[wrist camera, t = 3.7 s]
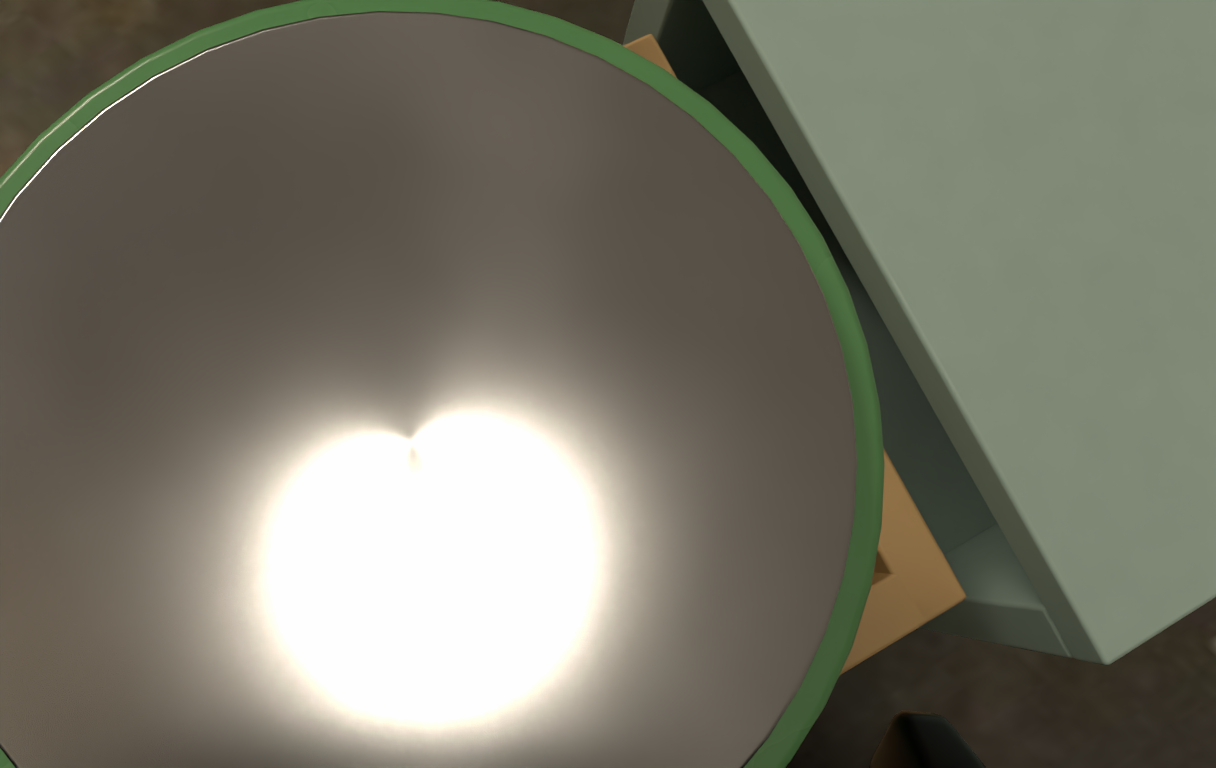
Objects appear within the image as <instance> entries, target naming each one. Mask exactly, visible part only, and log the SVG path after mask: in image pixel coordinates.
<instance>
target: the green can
mask: <svg viewBox="0 0 1216 768" xmlns="http://www.w3.org/2000/svg"><path fill="white" fill-rule="evenodd" d="M884 470H885V464H884V451H883V437H882V424H881V411H880V403H879V398H878V393H877V388H876V383H875V379H874V374H873V369H872V364H871V359H870V354H869V349H868V345H867V342H866V339H865V336H864V333H863V330H862V327H861V325H860V322H859V319H858V316H857V313H856V310H855V307H854V304H853V301H852V298H851V295H850V292H849V289H848V287H847V285H846V283H845V281H844V279H843V277H842V275H841V273H840V271H839V269H838V267H837V265H836V263H835V261H834V258H833V256H832V254H831V252H830V250H829V248H828V246H827V244H826V242H825V240H824V238H823V236H822V235H821V233H820V231H819V230H818V228H817V227H816V225H815V224H814V222H813V221H812V219H811V218H810V216H809V215H808V213H807V211H806V210H805V208H804V207H803V205H802V204H801V202H800V201H799V199H798V198H797V196H796V194H795V193H794V191H793V190H792V188H791V187H790V186H789V185H788V183H787V182H786V181H785V180H784V179H783V177H782V176H781V175H780V174H779V173H778V171H777V170H776V169H775V168H774V167H773V166H772V164H771V163H770V162H769V161H768V160H767V158H766V157H765V156H764V155H763V154H762V152H761V151H760V150H759V149H758V148H757V146H756V145H755V144H754V143H753V142H752V141H751V140H750V139H749V138H748V137H747V136H746V135H745V134H743V133H742V132H741V131H740V130H739V129H738V128H737V127H736V126H735V125H734V124H733V123H732V122H731V121H730V120H728V119H727V118H726V117H725V116H724V115H723V114H722V113H721V112H720V111H719V110H718V109H717V108H716V107H714V106H713V105H712V104H711V103H710V102H709V101H707V100H706V99H705V98H703V97H702V96H700V95H699V94H698V93H696V92H695V91H694V90H692V89H691V88H689V87H688V86H687V85H685V84H684V83H683V82H681V81H680V80H678V79H677V78H676V77H674V76H673V75H672V74H670V73H669V72H667V71H666V70H665V69H663V68H662V67H660V66H658V65H656V64H654V63H653V62H651V61H649V60H647V59H645V58H644V57H642V56H640V55H638V54H636V53H635V52H633V51H631V50H629V49H627V48H626V47H624V46H622V45H620V44H618V43H617V42H615V41H613V40H611V39H609V38H606V37H604V36H601V35H599V34H596V33H594V32H591V31H589V30H586V29H584V28H582V27H579V26H577V25H574V24H572V23H569V22H567V21H564V20H562V19H559V18H557V17H553V16H550V15H546V14H542V13H539V12H535V11H532V10H528V9H524V8H521V7H517V6H513V5H510V4H506V3H502V2H498V1H491V0H302V1H297V2H292V3H288V4H283V5H279V6H274V7H270V8H265V9H260V10H256V11H253V12H250V13H248V14H245V15H242V16H239V17H236V18H233V19H230V20H228V21H225V22H222V23H219V24H216V25H213V26H210V27H208V28H205V29H202V30H199V31H197V32H195V33H193V34H191V35H188V36H186V37H184V38H182V39H180V40H178V41H176V42H174V43H172V44H170V45H168V46H166V47H164V48H162V49H160V50H158V51H156V52H154V53H152V54H150V55H148V56H146V57H144V58H142V59H140V60H139V61H137V62H136V63H134V64H133V65H131V66H129V67H128V68H126V69H125V70H123V71H122V72H120V73H119V74H117V75H116V76H114V77H113V78H111V79H110V80H108V81H107V82H105V83H104V84H102V85H101V86H99V87H98V88H96V89H95V90H93V91H92V92H90V93H89V94H87V95H86V96H85V97H84V98H82V99H81V100H80V101H79V102H78V103H77V104H75V105H74V106H73V107H72V108H71V109H70V110H68V111H67V112H66V113H65V114H64V115H63V116H61V117H60V118H59V119H58V120H57V121H56V122H54V123H53V124H52V125H51V126H50V127H49V128H47V129H46V130H45V131H44V132H43V133H42V134H40V135H39V136H38V137H37V138H36V139H35V140H34V142H33V143H32V144H31V145H30V146H29V147H28V148H27V149H26V150H25V151H24V153H23V154H22V155H21V156H20V157H19V158H18V159H17V160H16V161H15V163H14V164H13V165H12V166H11V167H10V168H9V169H8V170H7V171H6V172H5V174H4V175H3V176H2V177H1V178H0V768H785V767H786V766H787V765H788V764H789V763H790V761H791V760H792V758H793V757H794V755H795V754H796V752H797V750H798V749H799V747H800V746H801V744H802V742H803V741H804V739H805V738H806V736H807V734H808V733H809V731H810V730H811V728H812V726H813V725H814V723H815V722H816V720H817V718H818V717H819V715H820V714H821V712H822V710H823V709H824V707H825V706H826V704H827V701H828V699H829V697H830V695H831V693H832V690H833V688H834V686H835V684H836V682H837V680H838V677H839V675H840V673H841V671H842V669H843V666H844V664H845V662H846V660H847V658H848V656H849V653H850V651H851V649H852V647H853V643H854V640H855V637H856V634H857V631H858V627H859V624H860V621H861V618H862V615H863V611H864V608H865V605H866V602H867V599H868V595H869V592H870V589H871V584H872V578H873V573H874V567H875V562H876V556H877V550H878V545H879V539H880V533H881V528H882V510H883V490H884Z"/></svg>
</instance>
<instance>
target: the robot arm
mask: <svg viewBox="0 0 1216 768" xmlns="http://www.w3.org/2000/svg"><path fill="white" fill-rule="evenodd" d="M869 768H986V767H985V766H984V764H983V763H982V762H981V761H980V759H979V758H978V757H977V756H976V754H975V753H974V752H973V751H972V749H971V748H970V747H969V746H968V744H967V743H966V742H965V741H964V740H963V738H962V737H961V736H960V735H959V733H958V732H957V731H956V730H955V728H954V727H953V726H952V725H951V724H950V722H949V721H948V720H946V719H945V718H944V717H942V716H941V715H938V714H935V713H926V712H915V711H901V712H899V713H898V714H896V715H895V716H894V717H893V719H892V721H891V723H890V724H889V726H888V728H887V730H886V732H885V734H884V736H883V738H882V740H881V742H880V744H879V745H878V747H877V749H876V751H875V753H874V755H873V757H872V759H871V762H870V765H869Z"/></svg>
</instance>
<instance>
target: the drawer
mask: <svg viewBox="0 0 1216 768" xmlns="http://www.w3.org/2000/svg"><path fill="white" fill-rule="evenodd" d="M624 47H626V48H627V49H629V50H631V51H633V52H635V53H636V54H638V55H640V56H642V57H644V58H645V59H647V60H649V61H651V62H653V63H654V64H656V65H658V66H660V67H662V68H663V69H665V70H666V71H667V72H669V73H670V74H672V75H673V76H674V77H676V75H675V73H674V71H673V70H672V68H671V66H670V64H669V63H668V61H667V59H666V57H665V55H664V54H663V52H662V50H661V48H660V46H659V45H658V43H657V41H656V39H655V37H654V36H653V35H652V34H648V35H645V36H643V37H641V38H639V39H637V40H635V41H632V42H630V43H628V44H626V45H624ZM676 78H677V77H676ZM883 451H884V464H885V470H884V490H883V510H882V528H881V533H880V539H879V545H878V550H877V556H876V562H875V567H874V573H873V578H872V584H871V589H870V592H869V595H868V599H867V602H866V605H865V608H864V611H863V615H862V618H861V621H860V624H859V627H858V631H857V634H856V637H855V640H854V643H853V647H852V649H851V651H850V653H849V656H848V658H847V660H846V662H845V664H844V666H843V669H842V671H841V673H840V675H841V674H843V673H844V672H846V671H848V670H849V669H851V668H853V667H854V666H856V665H858V664H859V663H861V662H863V661H864V660H866V659H867V658H869V657H871V656H872V655H874V654H876V653H877V652H879V651H881V650H882V649H884V648H886V647H887V646H889V645H891V644H892V643H894V642H896V641H897V640H899V639H901V638H902V637H904V636H906V635H907V634H909V633H911V632H912V631H914V630H915V629H917V628H919V627H920V626H922V625H924V624H925V623H927V622H929V621H930V620H932V619H934V618H935V617H937V616H939V615H940V614H942V613H944V612H945V611H947V610H949V609H950V608H952V607H954V606H955V605H957V604H959V603H960V602H962V601H963V600H965V598H966V594H965V592H964V590H963V588H962V587H961V585H960V583H959V581H958V579H957V578H956V576H955V574H954V572H953V570H952V569H951V567H950V565H949V563H948V561H947V560H946V558H945V556H944V554H943V553H942V551H941V549H940V548H939V546H938V544H937V543H936V541H935V539H934V537H933V535H932V534H931V532H930V530H929V528H928V526H927V525H926V523H925V521H924V519H923V517H922V516H921V514H920V512H919V510H918V509H917V507H916V505H915V503H914V501H913V500H912V498H911V496H910V494H909V492H908V491H907V489H906V487H905V485H904V483H903V482H902V480H901V478H900V476H899V474H898V473H897V471H896V469H895V467H894V466H893V464H892V462H891V460H890V458H889V457H888V455H887V453H886V451H885V449H884V448H883Z"/></svg>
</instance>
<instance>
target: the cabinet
mask: <svg viewBox="0 0 1216 768" xmlns="http://www.w3.org/2000/svg"><path fill="white" fill-rule="evenodd" d="M648 34H652V35H653V36H654V37H655V39H656V41H657V43H658V45H659V46H660V48H661V50H662V52H663V54H664V55H665V57H666V59H667V61H668V63H669V64H670V66H671V68H672V70H673V71H674V73H675V75H676V77H677V79H678V80H680V81H681V82H683V83H684V84H685V85H687V86H688V87H689V88H691V89H692V90H694V91H695V92H696V93H698V94H699V95H700V96H702V97H703V98H705V99H706V100H707V101H709V102H710V103H711V104H712V105H713V106H714V107H716V108H717V109H718V110H719V111H720V112H721V113H722V114H723V115H724V116H725V117H726V118H727V119H728V120H730V121H731V122H732V123H733V124H734V125H735V126H736V127H737V128H738V129H739V130H740V131H741V132H742V133H743V134H745V135H746V136H747V137H748V138H749V139H750V140H751V141H752V142H753V143H754V144H755V145H756V146H757V148H758V149H759V150H760V151H761V152H762V154H763V155H764V156H765V157H766V158H767V160H768V161H769V162H770V163H771V164H772V166H773V167H774V168H775V169H776V170H777V171H778V173H779V174H780V175H781V176H782V177H783V179H784V180H785V181H786V182H787V183H788V185H789V186H790V187H791V188H792V190H793V191H794V193H795V194H796V196H797V198H798V199H799V201H800V202H801V204H802V205H803V207H804V208H805V210H806V211H807V213H808V215H809V216H810V218H811V219H812V221H813V222H814V224H815V225H816V227H817V228H818V230H819V231H820V233H821V235H822V236H823V238H824V240H825V242H826V244H827V246H828V248H829V250H830V252H831V254H832V256H833V258H834V261H835V263H836V265H837V267H838V269H839V271H840V273H841V275H842V277H843V279H844V281H845V283H846V285H847V287H848V289H849V292H850V295H851V298H852V301H853V304H854V307H855V310H856V313H857V316H858V319H859V322H860V325H861V327H862V330H863V333H864V336H865V339H866V342H867V345H868V349H869V354H870V359H871V364H872V369H873V374H874V379H875V383H876V388H877V393H878V398H879V403H880V411H881V424H882V437H883V448H884V449H885V451H886V453H887V455H888V457H889V458H890V460H891V462H892V464H893V466H894V467H895V469H896V471H897V473H898V474H899V476H900V478H901V480H902V482H903V483H904V485H905V487H906V489H907V491H908V492H909V494H910V496H911V498H912V500H913V501H914V503H915V505H916V507H917V509H918V510H919V512H920V514H921V516H922V517H923V519H924V521H925V523H926V525H927V526H928V528H929V530H930V532H931V534H932V535H933V537H934V539H935V541H936V543H937V544H938V546H939V548H940V549H941V551H942V553H943V554H944V556H945V558H946V560H947V561H948V563H949V565H950V567H951V569H952V570H953V572H954V574H955V576H956V578H957V579H958V581H959V583H960V585H961V587H962V588H963V590H964V592H965V594H966V598H965V600H963V601H962V602H960V603H959V604H957V605H955V606H954V607H952V608H950V609H949V610H947V611H945V612H944V613H942V614H940V615H939V616H937V617H935V618H934V619H932V620H930V621H929V622H927V623H925V624H924V625H922V626H920V627H919V628H921V629H926V630H931V631H936V632H941V633H946V634H951V635H956V636H961V637H966V638H971V639H976V640H981V641H986V642H991V643H996V644H1001V645H1006V646H1011V647H1016V648H1021V649H1026V650H1031V651H1036V652H1042V653H1047V654H1052V655H1057V656H1062V657H1067V658H1075V659H1077V660H1082V661H1087V662H1092V663H1097V664H1102V665H1110V664H1111V663H1113V662H1114V661H1116V660H1118V659H1119V658H1121V657H1122V656H1124V655H1125V654H1127V653H1129V652H1130V651H1132V650H1133V649H1135V648H1136V647H1138V646H1140V645H1141V644H1143V643H1144V642H1146V641H1147V640H1149V639H1151V638H1152V637H1154V636H1155V635H1157V634H1158V633H1160V632H1162V631H1163V630H1165V629H1166V628H1168V627H1169V626H1171V625H1173V624H1174V623H1176V622H1177V621H1179V620H1180V619H1182V618H1184V617H1185V616H1187V615H1188V614H1190V613H1191V612H1193V611H1195V610H1196V609H1198V608H1199V607H1201V606H1202V605H1204V604H1206V603H1207V602H1209V601H1210V600H1212V599H1213V598H1215V597H1216V0H635V2H634V5H633V9H632V13H631V16H630V20H629V23H628V27H627V30H626V34H625V38H624V41H623V45H622V46H624V45H626V44H628V43H630V42H632V41H635V40H637V39H639V38H641V37H643V36H645V35H648Z"/></svg>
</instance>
